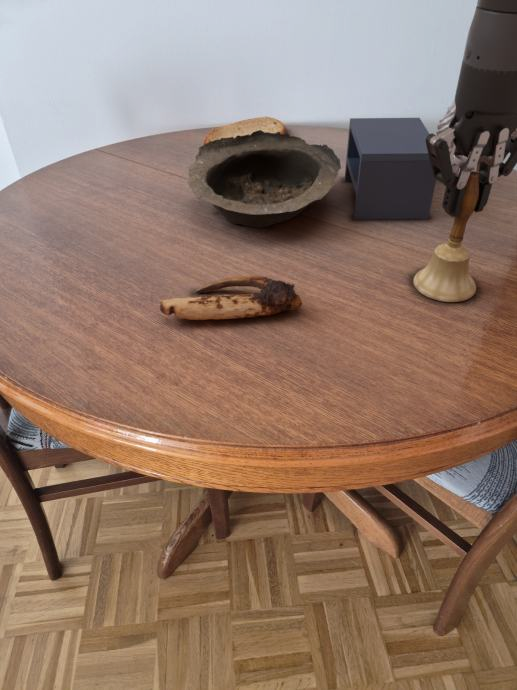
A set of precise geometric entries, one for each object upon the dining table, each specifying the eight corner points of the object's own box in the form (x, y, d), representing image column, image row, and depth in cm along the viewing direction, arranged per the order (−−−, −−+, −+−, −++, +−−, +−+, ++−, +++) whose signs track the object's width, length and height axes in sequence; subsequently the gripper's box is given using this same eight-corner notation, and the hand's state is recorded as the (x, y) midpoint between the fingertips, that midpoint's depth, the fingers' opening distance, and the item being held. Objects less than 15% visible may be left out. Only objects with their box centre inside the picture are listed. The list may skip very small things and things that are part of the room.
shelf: (409, 178, 101) (419, 117, 94) (428, 219, 89) (441, 153, 82) (344, 178, 101) (349, 118, 94) (354, 219, 89) (361, 153, 82)
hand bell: (438, 262, 79) (463, 154, 68) (488, 287, 74) (523, 174, 63) (400, 283, 75) (420, 172, 65) (450, 310, 70) (480, 195, 60)
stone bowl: (291, 166, 105) (295, 118, 99) (362, 232, 89) (372, 179, 83) (169, 190, 97) (164, 139, 91) (222, 266, 81) (221, 212, 75)
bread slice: (283, 126, 123) (283, 108, 121) (292, 156, 110) (292, 138, 107) (204, 129, 123) (203, 112, 120) (203, 160, 109) (201, 141, 106)
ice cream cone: (422, 175, 102) (437, 90, 92) (444, 170, 103) (462, 86, 94) (437, 185, 98) (456, 98, 89) (461, 181, 100) (481, 94, 90)
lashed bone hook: (293, 285, 76) (163, 292, 74) (294, 256, 73) (159, 262, 71) (304, 325, 68) (161, 334, 67) (307, 294, 66) (156, 302, 64)
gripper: (465, 74, 52) (430, 235, 63) (583, 59, 55) (530, 215, 66) (422, 56, 57) (397, 208, 68) (532, 44, 60) (491, 190, 72)
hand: (463, 210), depth 67 cm, fingers open, 3 cm apart
